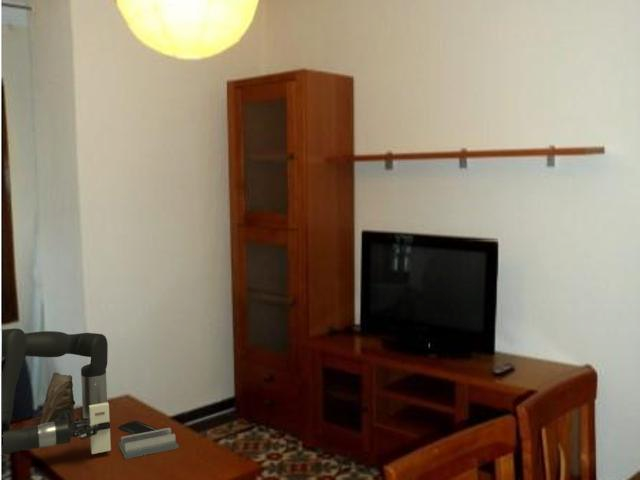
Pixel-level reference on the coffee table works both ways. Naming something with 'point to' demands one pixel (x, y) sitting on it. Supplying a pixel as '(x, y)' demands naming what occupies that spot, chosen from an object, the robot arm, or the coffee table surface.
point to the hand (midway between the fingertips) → (108, 423)
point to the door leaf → (102, 438)
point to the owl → (59, 400)
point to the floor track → (148, 443)
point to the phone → (136, 427)
